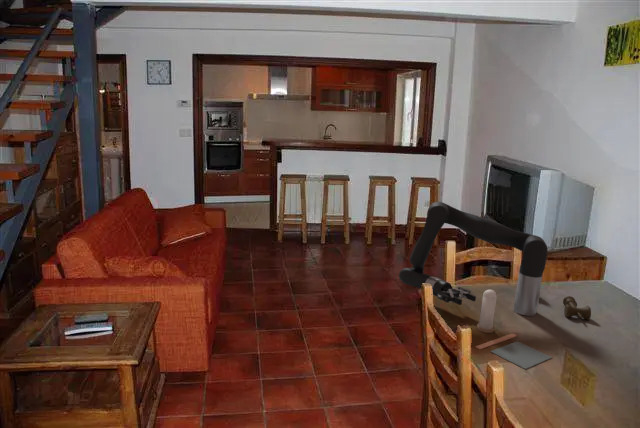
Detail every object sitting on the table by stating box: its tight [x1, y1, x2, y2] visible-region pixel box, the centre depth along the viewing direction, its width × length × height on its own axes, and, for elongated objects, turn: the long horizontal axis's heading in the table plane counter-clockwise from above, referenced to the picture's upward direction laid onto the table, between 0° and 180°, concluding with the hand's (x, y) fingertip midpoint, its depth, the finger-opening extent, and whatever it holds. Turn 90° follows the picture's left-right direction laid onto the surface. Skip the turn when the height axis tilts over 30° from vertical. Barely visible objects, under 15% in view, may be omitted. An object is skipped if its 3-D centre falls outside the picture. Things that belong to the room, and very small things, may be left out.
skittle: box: [476, 289, 497, 334], centre depth 203 cm, size 6×6×16 cm
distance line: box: [475, 333, 517, 350], centre depth 195 cm, size 22×2×1 cm, turn 126°
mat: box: [490, 341, 553, 370], centre depth 186 cm, size 16×14×1 cm
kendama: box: [562, 295, 592, 321], centre depth 226 cm, size 6×10×20 cm
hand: (468, 300), depth 211 cm, fingers open, 8 cm apart
